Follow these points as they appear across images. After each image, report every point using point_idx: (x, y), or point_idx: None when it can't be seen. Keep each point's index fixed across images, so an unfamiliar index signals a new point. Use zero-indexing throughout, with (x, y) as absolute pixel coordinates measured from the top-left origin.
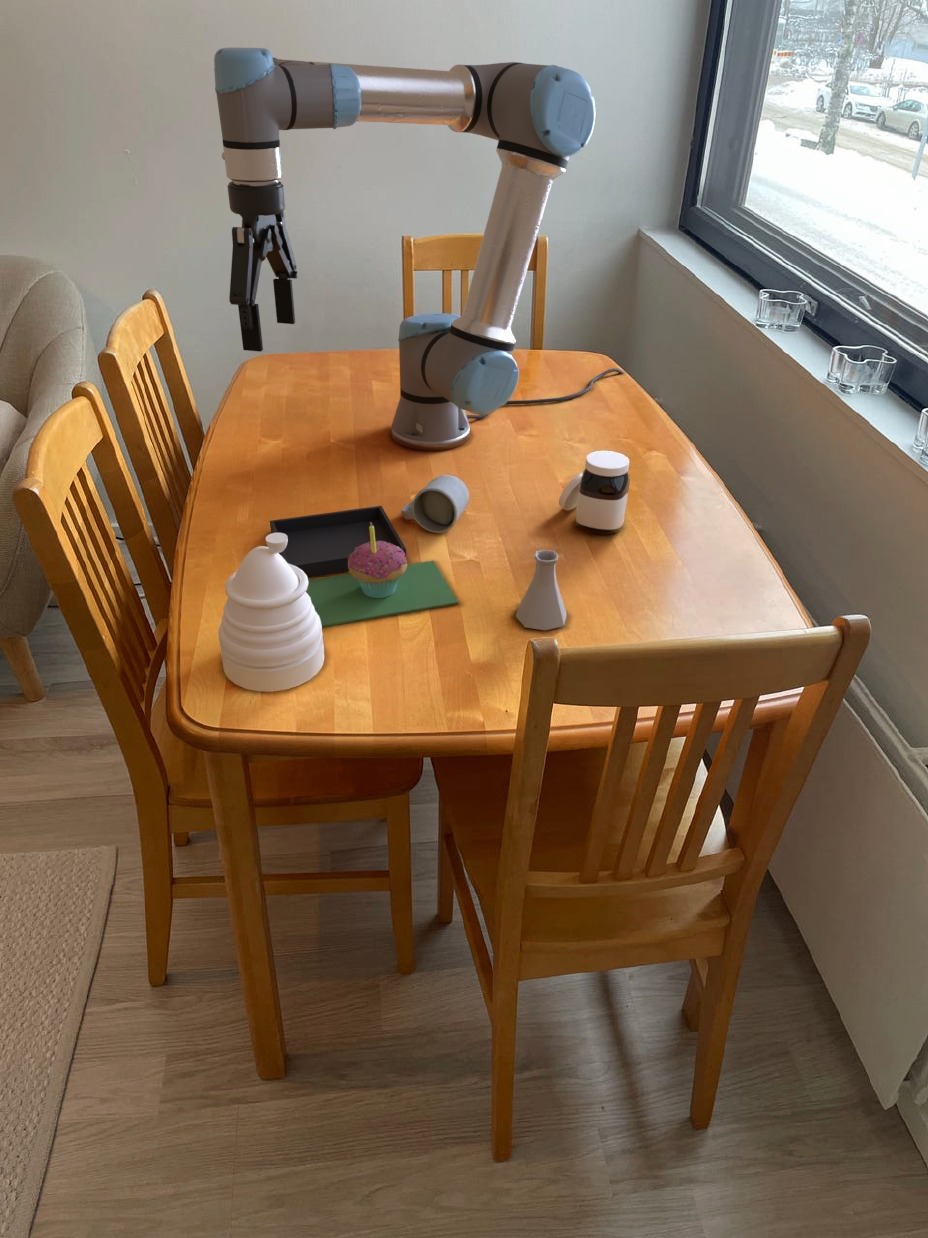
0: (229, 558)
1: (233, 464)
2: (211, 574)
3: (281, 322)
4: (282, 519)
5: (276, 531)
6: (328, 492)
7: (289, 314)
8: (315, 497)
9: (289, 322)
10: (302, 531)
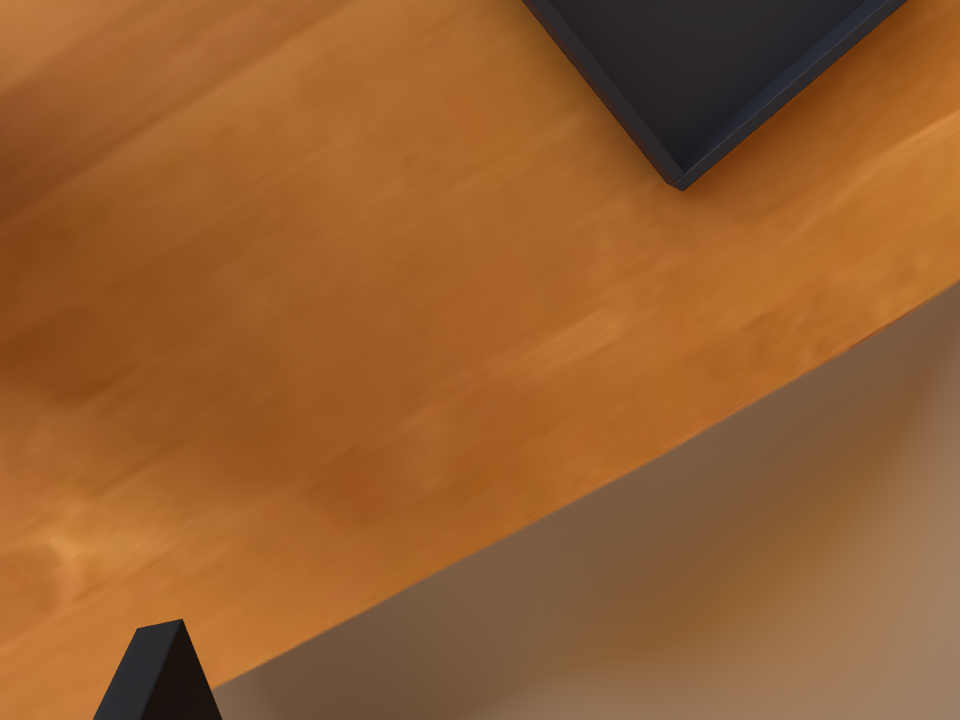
0: (842, 217)
1: (289, 562)
2: (940, 210)
3: (217, 717)
4: (660, 154)
5: (745, 125)
6: (311, 168)
7: (169, 709)
8: (368, 191)
9: (193, 659)
10: (622, 90)
